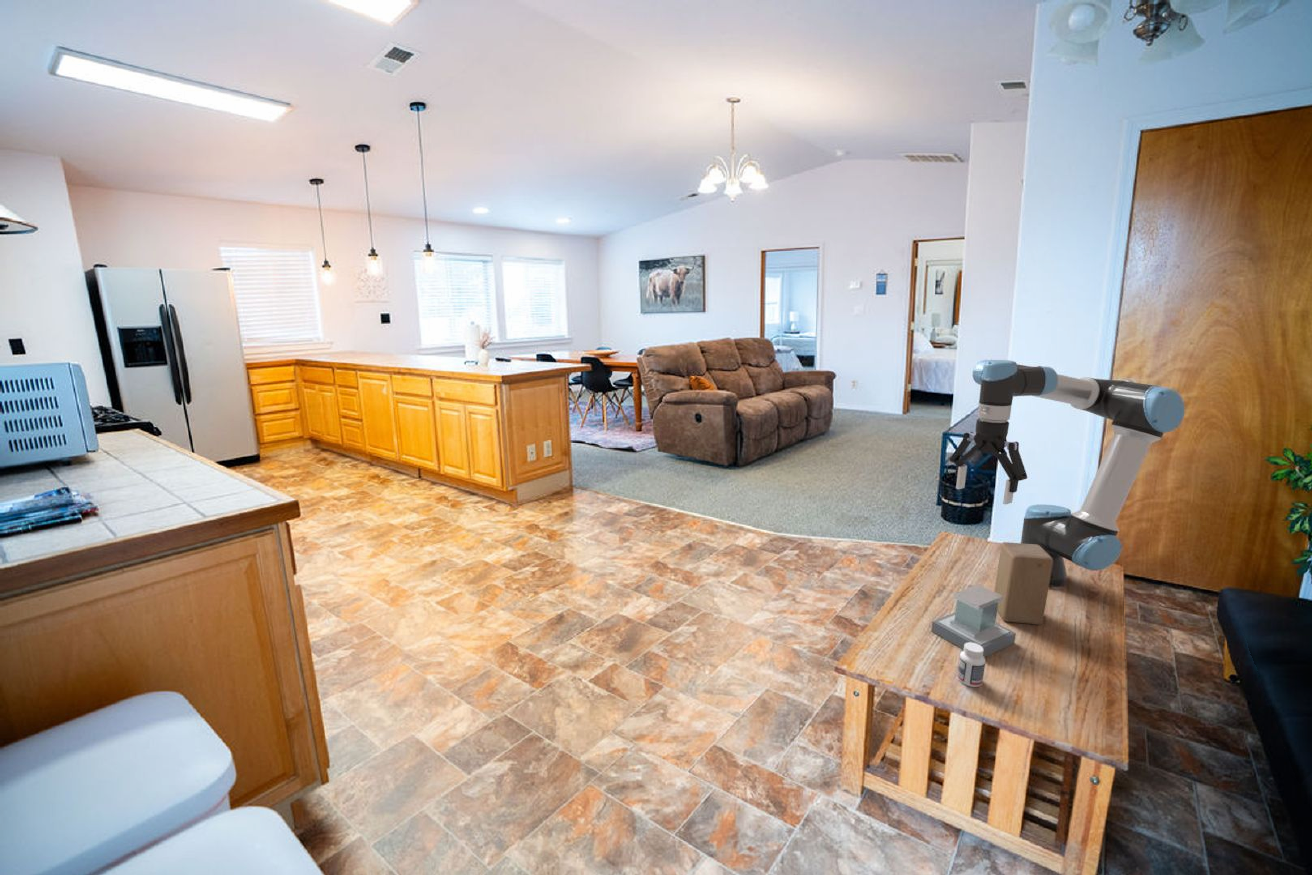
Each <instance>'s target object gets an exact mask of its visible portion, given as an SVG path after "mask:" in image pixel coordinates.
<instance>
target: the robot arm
mask: <svg viewBox="0 0 1312 875" xmlns="http://www.w3.org/2000/svg"><path fill="white" fill-rule="evenodd" d="M972 379H973V381H974V382H975V383H976V384H977V385H979V386H980V390H979V399H978V400H979V401H978V407H977V408H978V409H977V417H978V418H977V419H976V424H975V433H974V432H973V431H967V432H964V433H963V436H962V440H961V442H960V444H959V445H958V446H957V448H956V449H955V451H954V452H953V454H952V455H951V457H950V458H949V462H951V463H953V464H955V471H954V473H955V474H954V476H955V477H956V483H955V484H956V485H955V489H956V490H962V489H965V488H966V480H967V472H968V470H967V469H968V465H967V464H966V463H968V462H969V461H970V460H971V459H972V458H974V456H976V455H977V454H978V453H982V454H987V455H990V456H994V457H995V458H996V459H997V460H998V461H999V464H1000V465H1001V467H1002V468H1003V470H1004V473H1005V474H1006V475H1007V477H1008V479H1006V481H1005V489H1004V494H1003V502H1002V504H1003V505H1008V504H1009V505H1010V504H1012V503H1013V498H1014V494H1015V493H1017V491H1018V486H1019V481H1024V480H1027V479H1028V474H1027V472H1026V468H1025V465H1024V463H1023V460H1022V456H1021V454H1020V450H1019V448H1020V445H1019V444H1020V443H1019V442H1018V441H1008V440H1007V437H1008V433H1009V429H1010V428H1009V427H1010V426H1009V425H1010V422H1009V420H1010V419H1011V413H1012V405H1013V399H1014V397H1026V396H1027V397H1028V396H1029V397H1031V396H1032V397H1036V398H1041V399H1045V400H1051V401H1054V402H1059V403H1065V404H1069V405H1070V406H1071V407H1072V408H1074V409H1077V410H1082V411H1085V412H1088V413H1091V414H1094V415H1096V416H1099V417H1102V418H1104V419H1108V420H1111V421H1112V422H1111V424H1110V427H1111V429H1112V431H1113V432H1114V433H1113V435H1112V438H1111V441H1110V442H1109V444H1108V447H1107V449H1106V451H1105V454H1104V456H1103V458H1102V460H1101V462H1100V465H1099V467H1098V470H1097V471H1096V474H1095V476H1094V478H1093V480H1092V483H1091V485H1090V487H1089V489H1088V492H1087V494H1086V496H1085V497H1084V501H1083V503H1082V504H1081V507H1080V510H1078V511H1074V512H1072V511H1071V509H1070V508H1067V507H1064V506H1061V505H1054V504H1033V505H1030V506H1028V507H1027V508H1026V509H1025V513H1024V514H1025V515H1024V517H1023V524H1022V532H1021V540H1020V543H1023V544H1037V545H1039V546H1041V547H1042V548H1043V549H1044V550H1045V551H1046V552H1047V553H1048V554H1049V555H1050V556H1051V557H1052V559H1053V565H1052V571H1051V577H1050V582H1049V587H1058V586H1064V585H1065V583H1066V582H1067V578H1068V572H1067V569H1066V564H1065V560H1064V559H1066V560H1067V561H1070V562H1072V563H1073V564H1074V565H1075V566H1078V567H1081V568H1083V569H1086V570H1088V571H1093V572H1095V571H1096V572H1097V571H1101V570H1105V569H1106V568H1109V567H1110V566H1113V564H1114V563H1115V562H1116V561H1117V560H1118V559H1119V557H1120V556H1121V553H1122V548H1123V547H1122V542H1121V540H1120V539H1119V538H1118V537H1117V536H1118V533H1119V531H1120V529H1119V527H1118V526H1117V524H1116V521H1117V519H1118V517H1119V515H1120V513H1121V511H1122V509H1123V506H1124V504H1125V502H1126V500H1127V498H1128V496H1129V493H1130V491H1131V489H1132V486H1133V485H1134V482H1135V481H1136V477H1137V475H1138V473H1139V472H1140V469H1141V467H1142V465H1143V463H1144V460H1145V458H1146V455H1147V454H1148V451H1149V449H1150V447H1151V445H1152V444H1153V443H1154V442H1157V441H1160V440H1161V439H1162V437H1163V435H1164V434H1167V433H1170V432H1173V431H1175V430H1176V428H1178V427H1179V426H1180V425H1181V423H1182V422H1183V419H1184V417H1185V412H1186V411H1185V410H1186V409H1185V408H1186V406H1185V402H1184V401H1183V400H1184V399H1183V397H1182V396H1181V394H1180V393H1179V392H1177V390H1175V389H1172V388H1168V387H1164V386H1159V385H1154V384H1146V383H1139V382H1133V381H1127V380H1119V379H1118V380H1117V379H1102V378H1093V377H1089V376H1086V377H1084V376H1083V377H1080V378H1076V377H1072V376H1067V375H1063V374H1058V373H1057V371H1056V370H1055V369H1054V368H1053V367H1051V366H1042V365H1038V366H1030V365H1024V364H1019V363H1017V362H1016V361H1014V360H1007V359H983V360H980V361H978V362H977V363H976V364H975V365H974V366H973V370H972ZM972 441H974V443H975V445H974V446H972V447H971V448H970V450H968V451H967V452H966V450H967V449H968V448H969V446H970V444H971V443H972ZM1005 448H1006V449H1005ZM1006 450H1008V453H1007V451H1006ZM965 452H966V453H965ZM964 453H965V454H964Z"/></svg>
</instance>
